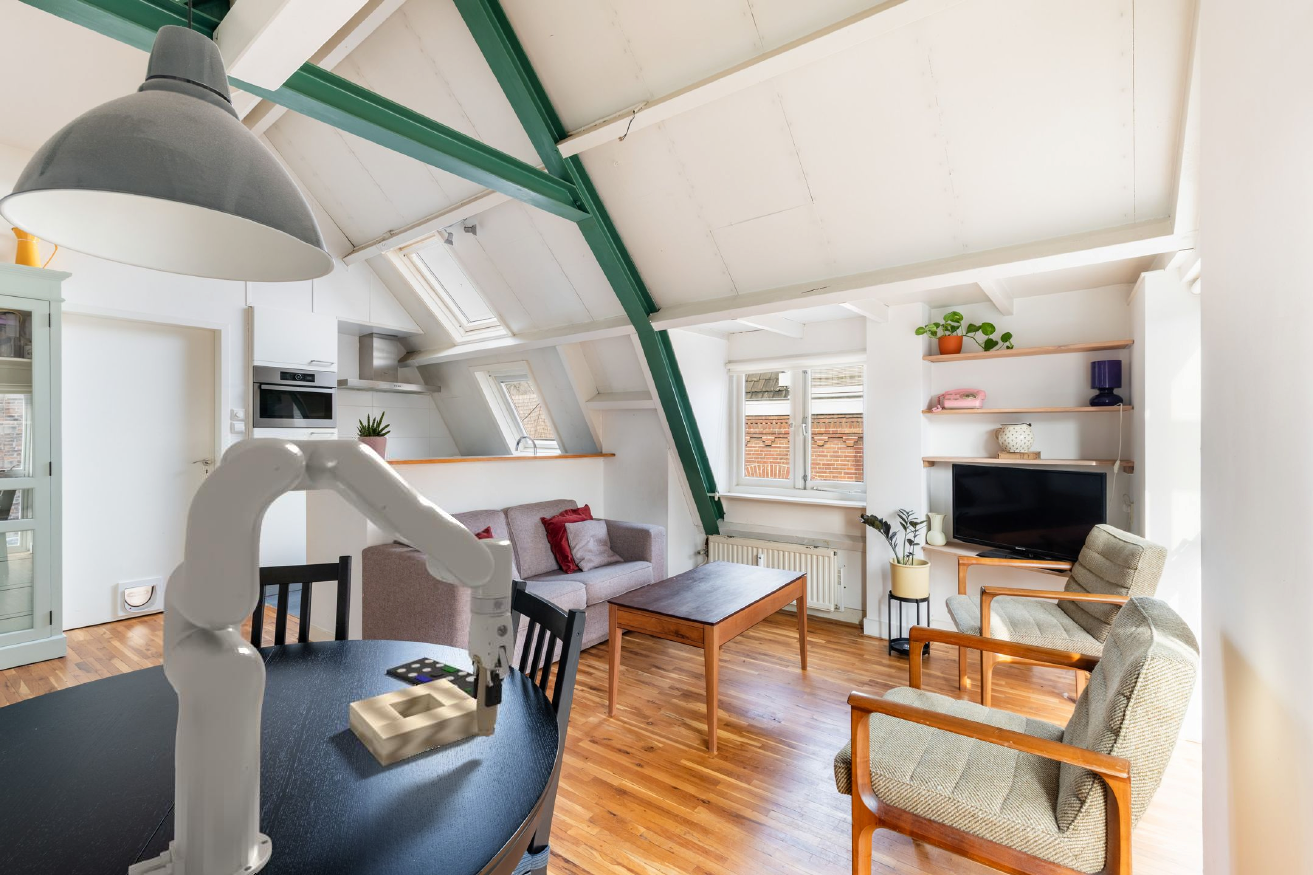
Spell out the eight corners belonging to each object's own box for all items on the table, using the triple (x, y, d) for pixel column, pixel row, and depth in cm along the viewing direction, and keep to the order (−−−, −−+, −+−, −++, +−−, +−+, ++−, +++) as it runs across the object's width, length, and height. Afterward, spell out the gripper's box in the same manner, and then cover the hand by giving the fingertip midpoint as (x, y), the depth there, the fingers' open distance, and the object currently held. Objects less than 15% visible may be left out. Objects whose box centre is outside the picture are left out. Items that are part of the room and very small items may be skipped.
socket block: (383, 766, 110) (383, 738, 110) (349, 727, 125) (349, 703, 125) (485, 731, 124) (485, 706, 124) (443, 700, 138) (444, 678, 138)
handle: (486, 743, 111) (489, 661, 112) (464, 733, 115) (467, 653, 115) (507, 734, 115) (510, 654, 116) (485, 724, 119) (488, 647, 119)
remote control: (462, 706, 137) (462, 697, 137) (386, 675, 154) (386, 667, 154) (500, 689, 146) (500, 681, 146) (425, 662, 163) (425, 655, 163)
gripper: (530, 610, 112) (527, 710, 112) (488, 593, 124) (484, 683, 124) (493, 616, 107) (490, 721, 107) (453, 598, 119) (449, 692, 119)
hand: (487, 700), depth 115 cm, fingers closed on handle, 3 cm apart
